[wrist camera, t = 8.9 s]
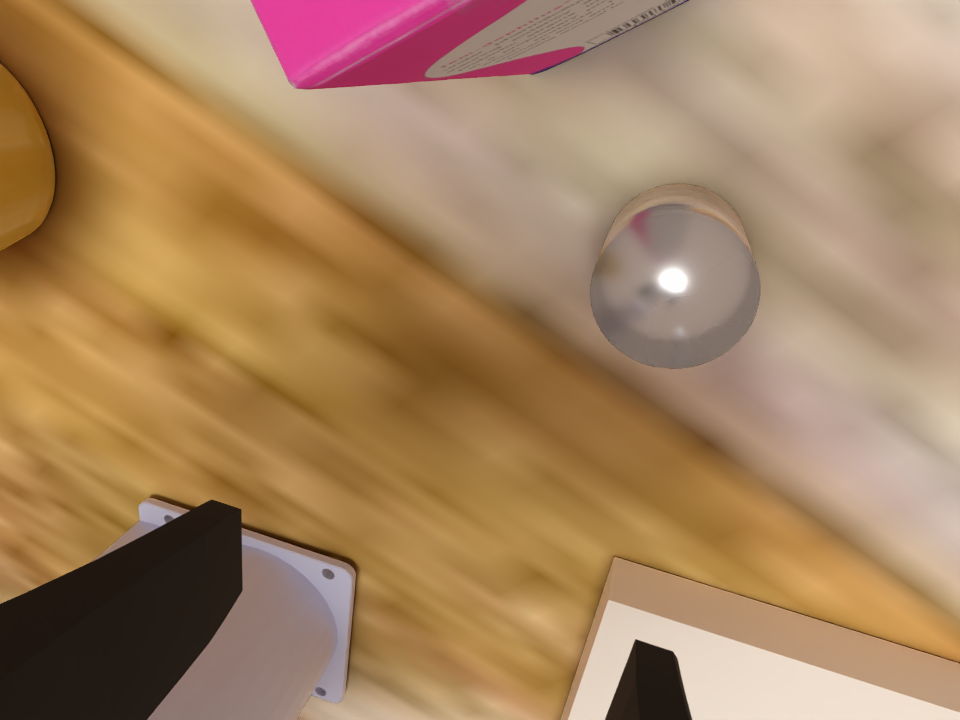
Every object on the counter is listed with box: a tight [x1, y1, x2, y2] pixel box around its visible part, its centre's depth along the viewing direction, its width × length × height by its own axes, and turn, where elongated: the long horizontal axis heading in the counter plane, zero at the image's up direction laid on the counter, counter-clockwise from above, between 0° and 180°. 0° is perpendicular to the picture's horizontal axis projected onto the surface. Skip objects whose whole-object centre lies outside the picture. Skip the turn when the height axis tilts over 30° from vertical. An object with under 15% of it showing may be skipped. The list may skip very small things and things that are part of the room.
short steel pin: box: [590, 184, 760, 369], centre depth 16 cm, size 4×4×4 cm
